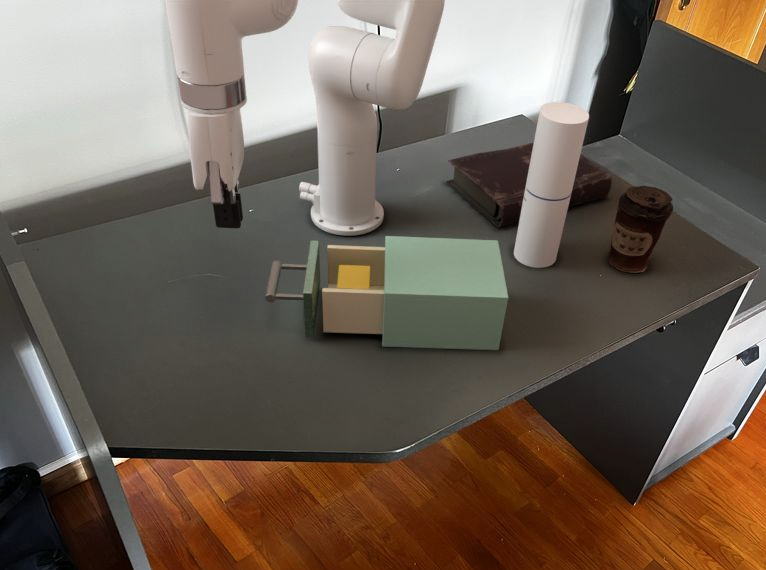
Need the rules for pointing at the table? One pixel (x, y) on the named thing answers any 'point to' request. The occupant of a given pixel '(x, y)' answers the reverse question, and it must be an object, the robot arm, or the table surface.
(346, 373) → the table surface
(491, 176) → the diary
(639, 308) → the table surface
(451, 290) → the fridge
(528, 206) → the cylindrical container
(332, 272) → the fridge drawer
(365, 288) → the block
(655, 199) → the coffee cup
